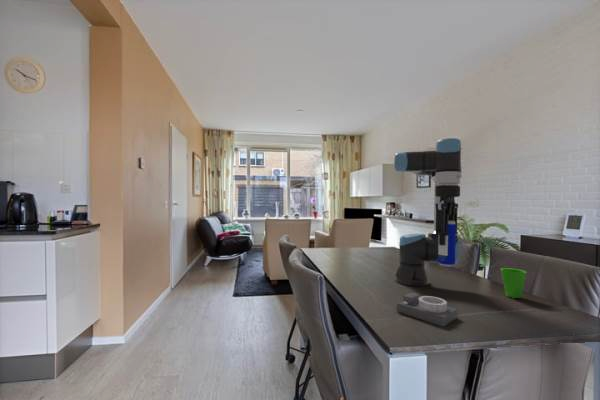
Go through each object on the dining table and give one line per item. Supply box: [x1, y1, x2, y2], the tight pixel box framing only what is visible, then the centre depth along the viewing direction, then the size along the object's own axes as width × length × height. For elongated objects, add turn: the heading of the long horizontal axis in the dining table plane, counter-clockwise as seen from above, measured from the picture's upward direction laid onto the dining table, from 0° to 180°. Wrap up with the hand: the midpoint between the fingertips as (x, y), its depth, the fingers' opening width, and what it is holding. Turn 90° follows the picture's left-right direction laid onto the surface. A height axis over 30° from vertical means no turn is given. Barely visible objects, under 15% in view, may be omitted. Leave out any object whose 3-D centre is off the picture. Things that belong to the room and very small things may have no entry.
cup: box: [499, 267, 528, 299], centre depth 122 cm, size 9×9×11 cm
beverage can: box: [437, 220, 456, 267], centre depth 98 cm, size 5×5×15 cm
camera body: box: [396, 291, 458, 327], centre depth 101 cm, size 16×11×6 cm
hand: (446, 253), depth 98 cm, fingers closed on beverage can, 5 cm apart
